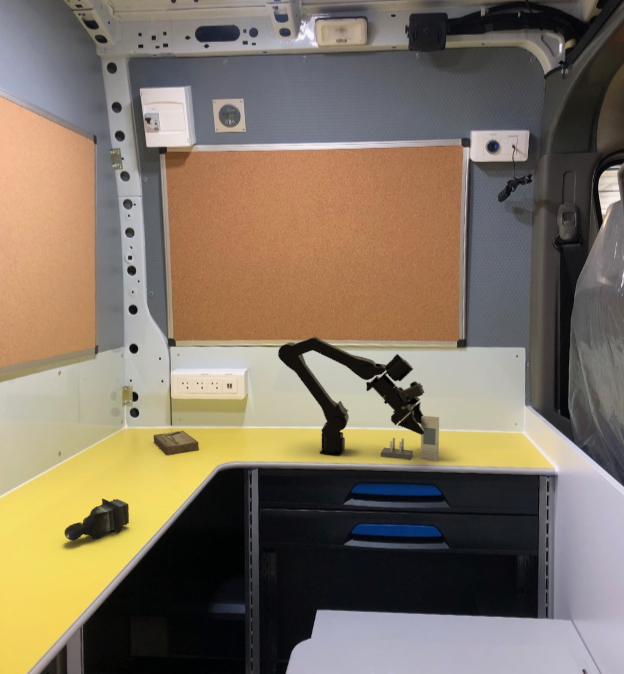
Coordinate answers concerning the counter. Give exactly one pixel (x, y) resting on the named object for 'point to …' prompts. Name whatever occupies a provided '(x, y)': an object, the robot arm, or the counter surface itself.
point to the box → (176, 442)
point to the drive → (430, 438)
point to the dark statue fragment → (101, 520)
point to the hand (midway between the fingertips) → (425, 429)
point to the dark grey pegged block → (397, 451)
